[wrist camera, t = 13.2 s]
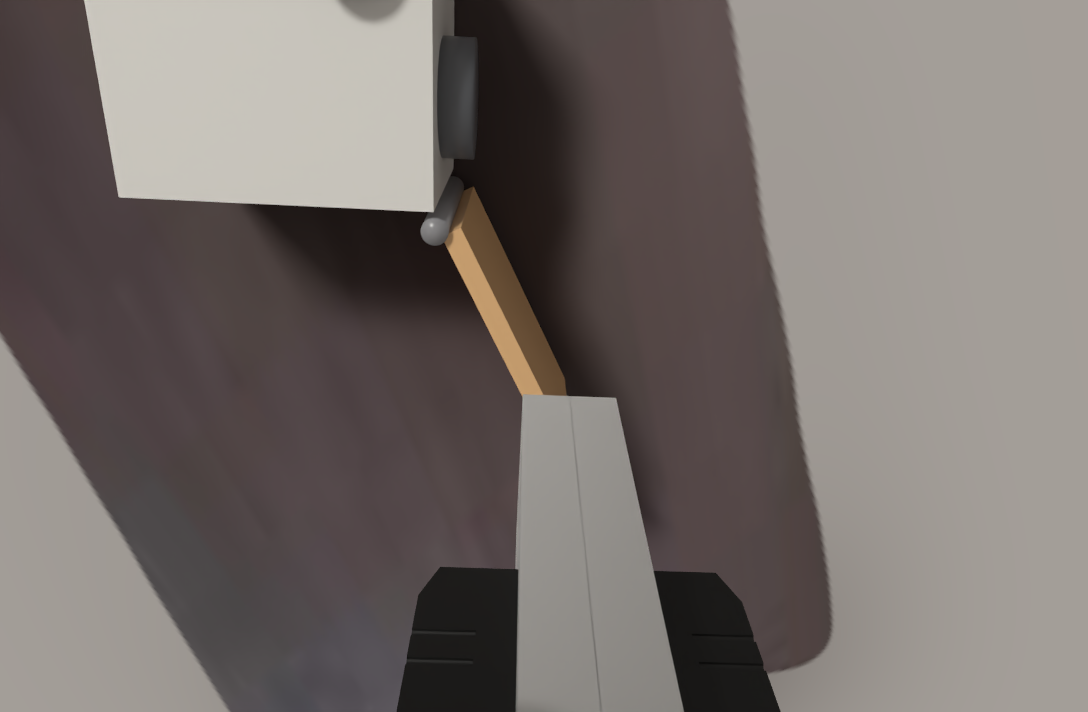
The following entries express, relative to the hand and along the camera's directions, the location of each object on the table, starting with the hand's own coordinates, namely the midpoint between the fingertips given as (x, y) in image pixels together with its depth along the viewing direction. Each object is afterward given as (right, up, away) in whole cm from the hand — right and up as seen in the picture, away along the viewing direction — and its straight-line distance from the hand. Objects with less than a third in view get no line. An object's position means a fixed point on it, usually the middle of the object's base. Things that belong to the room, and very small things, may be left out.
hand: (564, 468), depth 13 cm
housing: (-10, +15, +20) cm, 27 cm away
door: (-1, +3, +25) cm, 25 cm away
